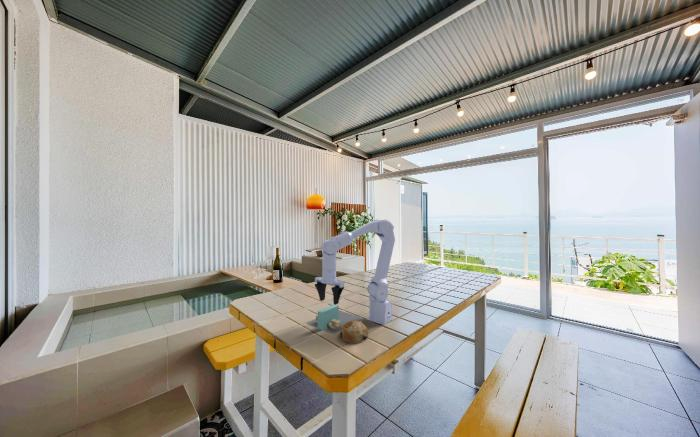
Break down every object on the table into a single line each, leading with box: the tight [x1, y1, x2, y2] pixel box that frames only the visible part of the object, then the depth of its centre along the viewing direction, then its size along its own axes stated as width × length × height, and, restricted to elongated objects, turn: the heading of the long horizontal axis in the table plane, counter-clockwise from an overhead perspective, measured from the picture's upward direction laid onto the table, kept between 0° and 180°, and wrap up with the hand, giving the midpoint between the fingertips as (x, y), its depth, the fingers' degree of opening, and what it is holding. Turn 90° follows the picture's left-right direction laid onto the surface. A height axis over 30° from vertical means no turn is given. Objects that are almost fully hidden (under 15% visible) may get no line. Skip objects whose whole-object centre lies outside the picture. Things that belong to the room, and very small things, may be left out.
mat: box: [305, 310, 364, 335], centre depth 105 cm, size 16×20×1 cm
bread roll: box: [338, 321, 369, 344], centre depth 90 cm, size 10×10×8 cm
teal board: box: [317, 304, 340, 331], centre depth 100 cm, size 2×10×7 cm, turn 143°
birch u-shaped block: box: [315, 314, 341, 330], centre depth 100 cm, size 12×2×3 cm, turn 53°
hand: (329, 302), depth 101 cm, fingers open, 7 cm apart
